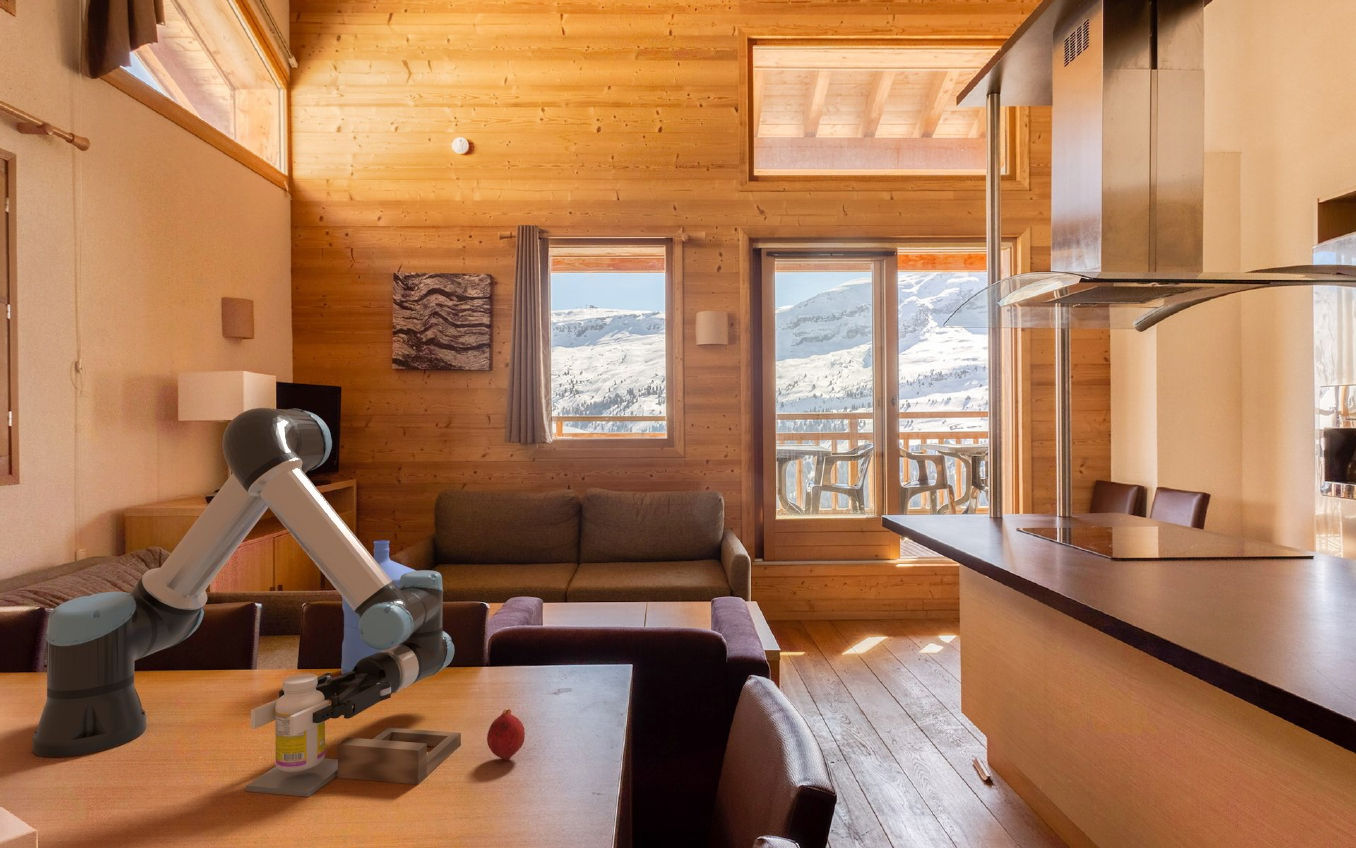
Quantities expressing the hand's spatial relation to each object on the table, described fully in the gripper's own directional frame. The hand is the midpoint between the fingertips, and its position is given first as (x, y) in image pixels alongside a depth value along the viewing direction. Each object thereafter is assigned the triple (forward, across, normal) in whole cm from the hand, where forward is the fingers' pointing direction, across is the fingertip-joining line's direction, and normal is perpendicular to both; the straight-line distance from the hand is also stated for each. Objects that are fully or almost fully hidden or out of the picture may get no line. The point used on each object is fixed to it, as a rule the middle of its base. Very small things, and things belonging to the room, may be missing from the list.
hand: (272, 722), depth 107 cm
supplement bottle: (-5, 0, -8) cm, 10 cm away
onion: (-21, -26, -10) cm, 35 cm away
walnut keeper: (-15, -10, -10) cm, 21 cm away
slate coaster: (-5, 0, -10) cm, 11 cm away
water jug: (-49, +24, -10) cm, 56 cm away
